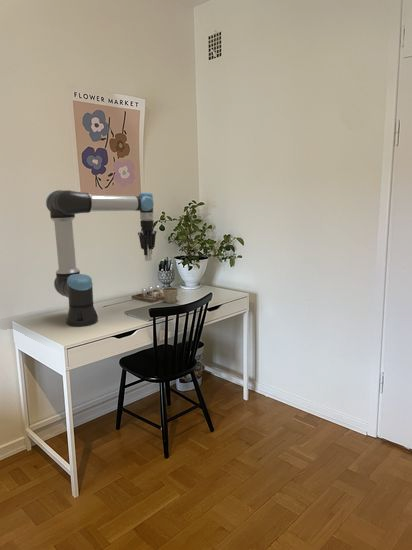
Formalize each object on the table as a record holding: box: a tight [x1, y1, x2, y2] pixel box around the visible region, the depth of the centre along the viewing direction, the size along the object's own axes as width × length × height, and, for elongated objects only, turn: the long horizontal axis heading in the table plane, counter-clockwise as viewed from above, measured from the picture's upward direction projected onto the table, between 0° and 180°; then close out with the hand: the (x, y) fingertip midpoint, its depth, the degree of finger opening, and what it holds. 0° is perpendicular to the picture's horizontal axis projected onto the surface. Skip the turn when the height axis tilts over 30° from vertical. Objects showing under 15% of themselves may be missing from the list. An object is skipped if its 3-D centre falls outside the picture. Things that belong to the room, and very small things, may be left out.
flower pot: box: [161, 286, 179, 304], centre depth 245 cm, size 9×9×9 cm
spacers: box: [141, 284, 162, 299], centre depth 256 cm, size 17×14×5 cm
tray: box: [131, 289, 179, 304], centre depth 256 cm, size 22×17×3 cm
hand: (148, 260), depth 247 cm, fingers closed
